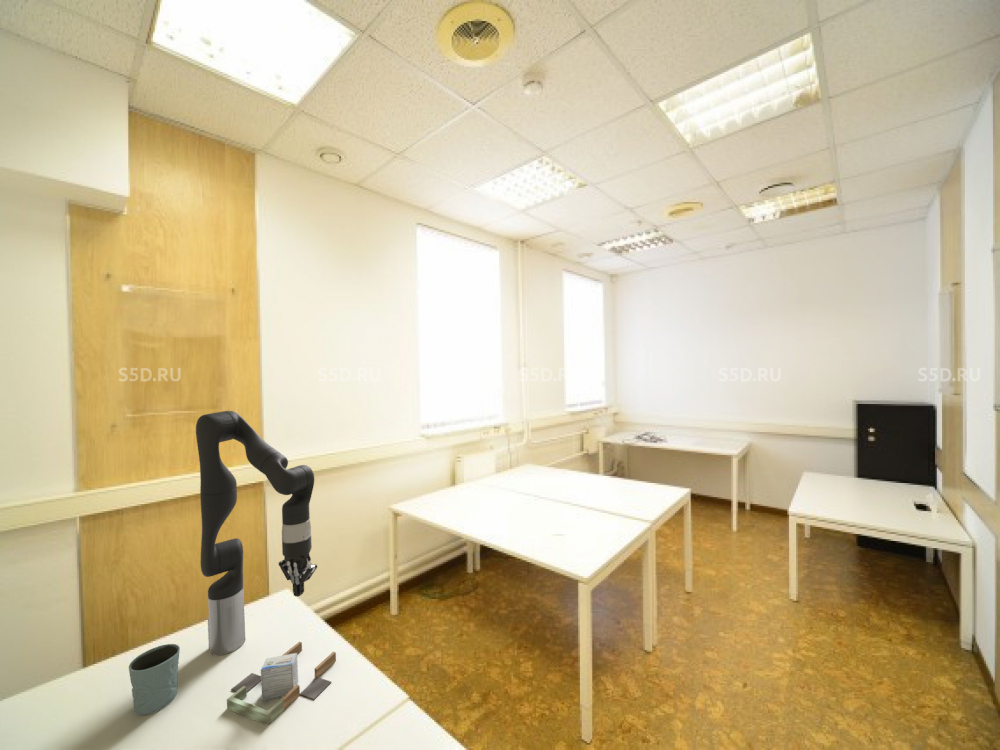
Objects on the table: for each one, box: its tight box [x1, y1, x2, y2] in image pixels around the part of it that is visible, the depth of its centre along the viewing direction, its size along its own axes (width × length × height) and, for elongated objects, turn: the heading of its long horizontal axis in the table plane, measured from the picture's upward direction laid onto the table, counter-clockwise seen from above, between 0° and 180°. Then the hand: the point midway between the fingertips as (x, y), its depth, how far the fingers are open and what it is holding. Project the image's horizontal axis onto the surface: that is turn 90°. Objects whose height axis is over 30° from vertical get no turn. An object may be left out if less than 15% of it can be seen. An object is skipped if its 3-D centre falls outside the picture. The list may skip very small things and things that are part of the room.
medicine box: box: [260, 653, 299, 702], centre depth 106 cm, size 8×4×9 cm, turn 103°
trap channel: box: [226, 641, 337, 726], centre depth 109 cm, size 24×22×2 cm
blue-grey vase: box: [128, 643, 181, 716], centre depth 104 cm, size 10×10×12 cm
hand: (298, 594), depth 114 cm, fingers closed
